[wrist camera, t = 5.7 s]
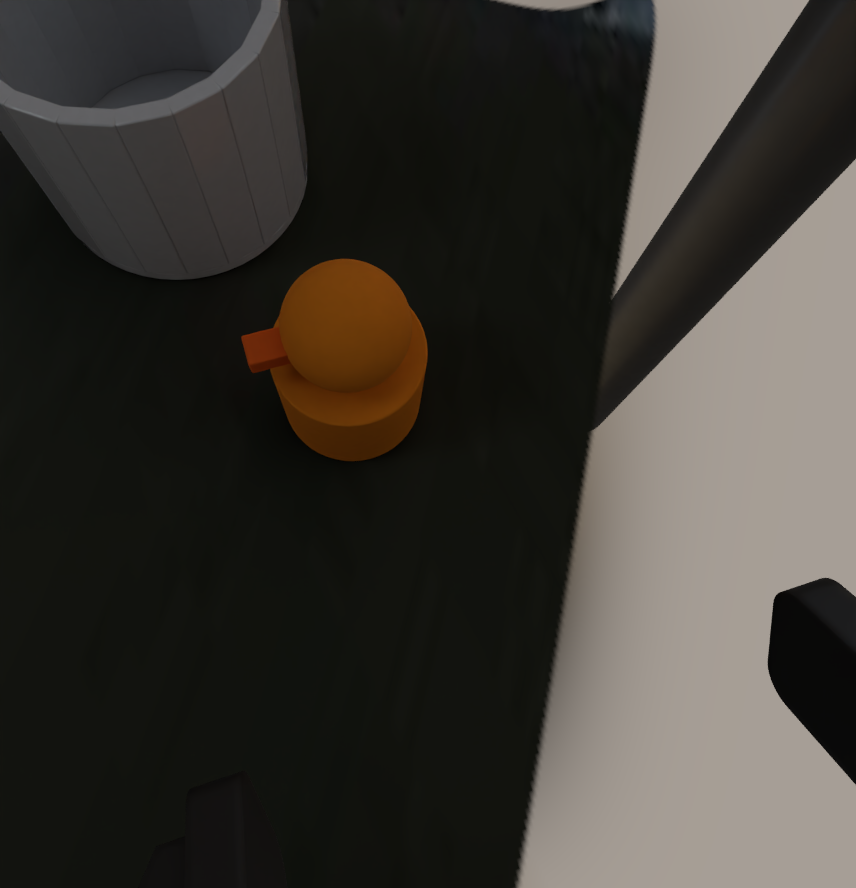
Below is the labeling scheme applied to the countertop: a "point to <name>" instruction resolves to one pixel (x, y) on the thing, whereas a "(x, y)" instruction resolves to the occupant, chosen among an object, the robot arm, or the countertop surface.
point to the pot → (158, 125)
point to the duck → (345, 360)
